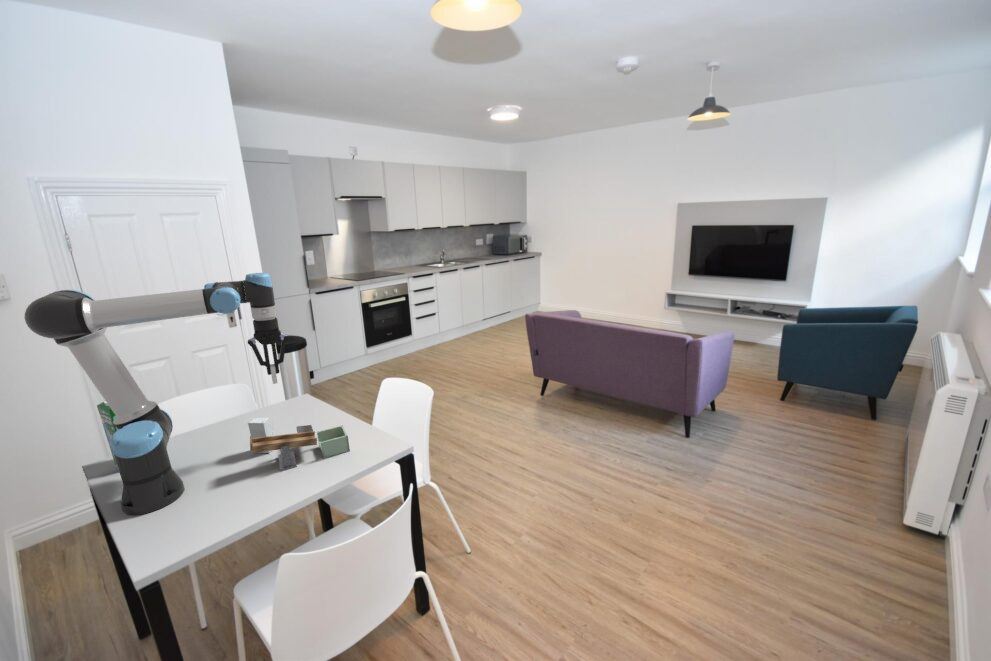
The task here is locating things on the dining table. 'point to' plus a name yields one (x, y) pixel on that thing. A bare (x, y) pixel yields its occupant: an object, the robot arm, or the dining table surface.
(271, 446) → the lever
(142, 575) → the dining table surface
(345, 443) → the bin
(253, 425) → the skincare box
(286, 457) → the fulcrum
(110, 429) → the milk carton
